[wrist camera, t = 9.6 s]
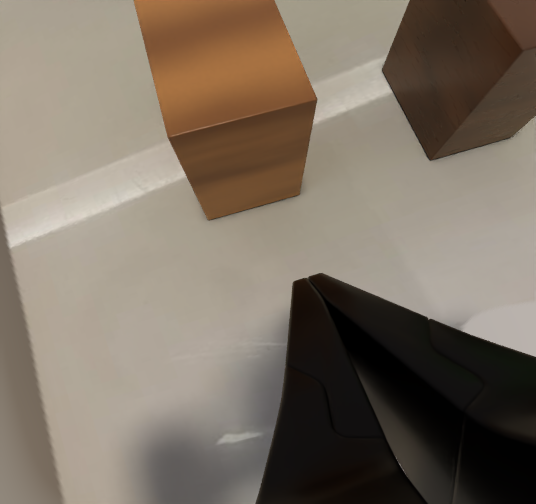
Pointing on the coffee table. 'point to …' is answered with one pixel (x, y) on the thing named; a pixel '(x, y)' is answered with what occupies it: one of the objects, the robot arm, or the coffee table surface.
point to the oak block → (230, 98)
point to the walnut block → (465, 71)
